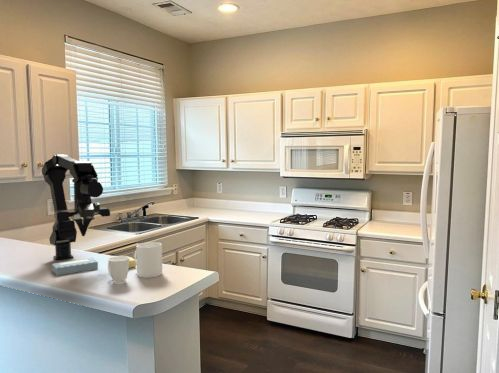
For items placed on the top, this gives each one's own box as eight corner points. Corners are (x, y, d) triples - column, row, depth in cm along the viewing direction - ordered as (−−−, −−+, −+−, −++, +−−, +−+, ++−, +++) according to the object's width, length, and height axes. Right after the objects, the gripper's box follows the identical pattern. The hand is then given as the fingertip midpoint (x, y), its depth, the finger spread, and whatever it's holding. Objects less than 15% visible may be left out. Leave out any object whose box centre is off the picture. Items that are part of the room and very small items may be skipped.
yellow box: (109, 266, 146) (109, 259, 145) (130, 263, 150) (130, 256, 150) (114, 270, 141) (114, 263, 141) (135, 266, 146) (135, 259, 145)
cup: (115, 287, 123) (114, 262, 123) (99, 280, 130) (98, 257, 129) (134, 281, 128) (134, 257, 128) (118, 275, 135) (118, 253, 134)
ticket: (52, 270, 142) (52, 263, 141) (92, 264, 150) (92, 257, 150) (56, 275, 136) (56, 268, 135) (97, 268, 144) (97, 261, 144)
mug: (144, 268, 144) (143, 239, 143) (167, 273, 137) (166, 243, 137) (125, 274, 137) (124, 244, 136) (148, 280, 130) (148, 248, 130)
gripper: (59, 198, 133) (60, 243, 135) (114, 195, 144) (114, 237, 146) (53, 195, 142) (54, 237, 144) (105, 192, 153) (106, 231, 155)
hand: (83, 236), depth 147 cm, fingers closed
